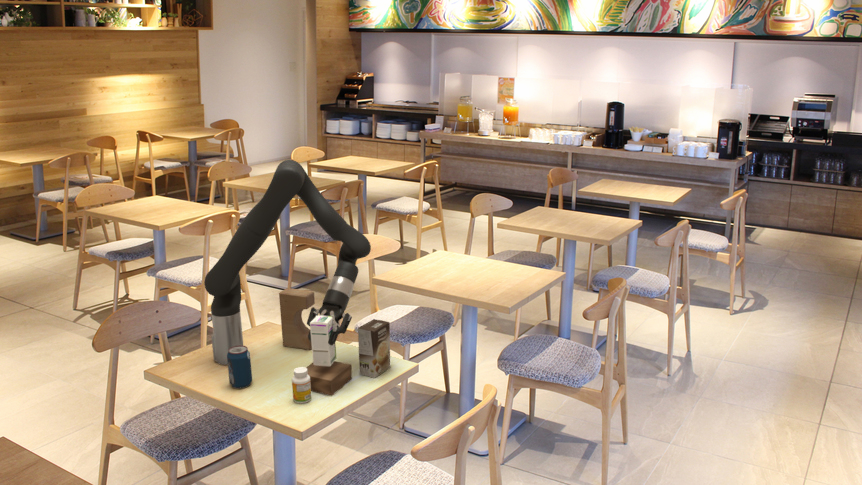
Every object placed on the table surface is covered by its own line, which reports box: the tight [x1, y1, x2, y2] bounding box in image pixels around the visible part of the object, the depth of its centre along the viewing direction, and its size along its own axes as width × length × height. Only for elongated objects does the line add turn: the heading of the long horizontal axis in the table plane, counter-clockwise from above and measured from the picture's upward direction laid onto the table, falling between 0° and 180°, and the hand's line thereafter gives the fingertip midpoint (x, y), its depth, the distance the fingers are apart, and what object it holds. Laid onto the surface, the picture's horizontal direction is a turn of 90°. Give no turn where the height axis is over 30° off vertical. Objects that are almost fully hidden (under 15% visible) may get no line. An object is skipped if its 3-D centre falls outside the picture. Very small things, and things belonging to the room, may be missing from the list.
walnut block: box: [305, 360, 353, 397], centre depth 225 cm, size 12×12×5 cm
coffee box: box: [357, 318, 391, 379], centre depth 232 cm, size 9×6×16 cm
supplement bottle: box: [291, 366, 312, 404], centre depth 215 cm, size 5×5×10 cm
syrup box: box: [309, 315, 337, 367], centre depth 222 cm, size 6×6×14 cm
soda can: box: [227, 345, 253, 389], centre depth 224 cm, size 7×7×12 cm
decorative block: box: [278, 287, 316, 351], centre depth 251 cm, size 11×6×20 cm, turn 68°
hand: (320, 342), depth 220 cm, fingers closed on syrup box, 6 cm apart
